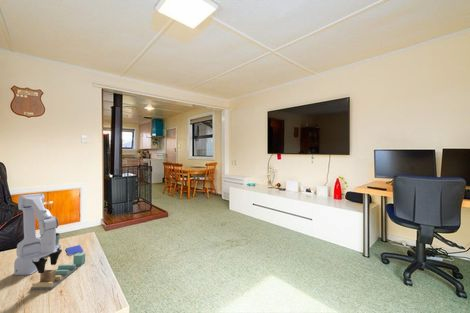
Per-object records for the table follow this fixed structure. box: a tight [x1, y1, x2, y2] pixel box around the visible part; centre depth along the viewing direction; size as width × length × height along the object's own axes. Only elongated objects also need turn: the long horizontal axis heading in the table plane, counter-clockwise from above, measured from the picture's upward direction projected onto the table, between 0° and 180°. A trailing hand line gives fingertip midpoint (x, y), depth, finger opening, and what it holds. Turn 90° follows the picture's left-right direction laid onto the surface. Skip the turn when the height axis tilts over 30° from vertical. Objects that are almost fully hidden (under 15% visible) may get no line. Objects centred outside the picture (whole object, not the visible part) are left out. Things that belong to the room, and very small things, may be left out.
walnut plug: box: [39, 269, 57, 283], centre depth 106 cm, size 5×3×6 cm, turn 94°
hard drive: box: [65, 244, 84, 256], centre depth 144 cm, size 2×8×12 cm
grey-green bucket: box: [39, 232, 61, 257], centre depth 140 cm, size 10×10×12 cm
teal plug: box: [72, 252, 86, 266], centre depth 127 cm, size 5×3×6 cm, turn 94°
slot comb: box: [30, 263, 78, 291], centre depth 112 cm, size 10×18×3 cm, turn 4°
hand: (47, 268), depth 106 cm, fingers open, 7 cm apart
